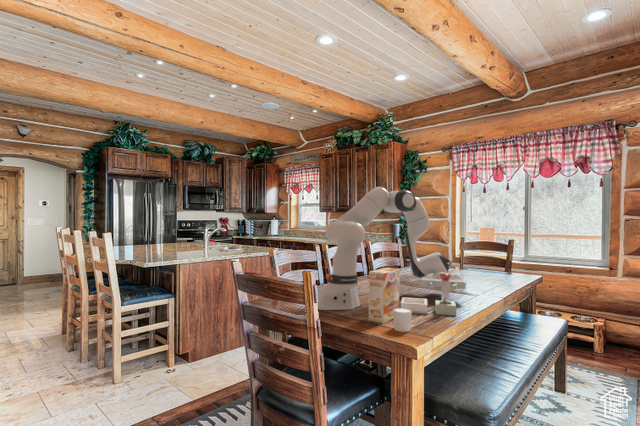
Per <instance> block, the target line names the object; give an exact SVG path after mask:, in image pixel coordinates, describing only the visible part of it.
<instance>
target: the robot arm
mask: <svg viewBox="0 0 640 426" xmlns="http://www.w3.org/2000/svg"><path fill="white" fill-rule="evenodd" d="M381 212H384V213H388V214H389V213H395V214H398V213H399V214H400V213H402V214H403V215H404V218H405V221H406V225H407V230H406V231H405V232H404V237H405V242H406V247H407V253H408V256H409V257H408V258H409V265H410V271H411V273H412V276H414V277H416V278H419V279H420V286H421V287H422V288H432V289H433V288H434V289H436V290H439V291H441V292H442V278H440V274H441V273H447V274H449V271H450V266H449V264H448V261H447V259H446V257H445V256H444V254H442V253H441V252H438V251H436V252H432V253H430V254H427V255H425V256H424V255H423V256H421V257H418V256H417V251H416V246H415V244H416V241H418V239H420V238H421V237H422V236H423V235H424V234H425V233H426V232H427V231H428V230H429V228H430V225H431V220H430V218H429V214H428V212H427V210H426V208H425V206H424V204H423V203H422V201H421V199H420V198H419V197H417V196H415V195H414V194H413V193H412V192H411V190H406V189H400V190H392V191H388V190H387V189H386V188H385V187H382V186H376V187H374V188H372V189H371V190H370V191H368V192H367V193H366V194H365V195H364V196H362V198H361V199H359V201H358V202H357V203H356V204H355V205H354V206H352V207H351V208H350V209H349V210H347V211H346V212H345V213H343V214H342V215H340V216H339V217H338V218H337V219H336V220H334V221H332V222H330V223H329V224H327V226H326V228H325V236H326V238H327V239H328V240H329V241H330V242H333V243H335V244H337V248H336V251H335V254H334V255H333V257H332V273H331V275H330V274H326V275H325V278H326V279H327V280H328V282H326V284H325V285H323V287H321V288H320V289H318V290H317V292H318V308H319V311H337V310H338V311H339V310H340V311H342V310H343V311H344V310H345V311H347V310H350V311H352V310H354V309H355V308H358V307H360V305H361V304H360V299H359V294H358V284H359V283H358V281H359V279H358V274H357V263H358V262H357V261H358V253H359V249H360V246H361V244H362V243H363V242H364V240H365V238H366V229H365V227H367V226H368V225H370V224H371V222H373V221H374V220H375V218H377V216H378V215H379V214H380V213H381ZM450 274H451V273H450ZM429 275H432V277H426V276H429ZM466 285H467V283H466V280H465V279H464V278H462V276H460V275H457V274H451V278H449V291H450V290H466V288H467V286H466Z"/></svg>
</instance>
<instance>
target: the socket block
mask: <svg viewBox="0 0 640 426" xmlns="http://www.w3.org/2000/svg"><path fill="white" fill-rule="evenodd" d="M434 302H435V303H434V304H435V305H434V306H435V308H434V310H435V315H445V316H446V315H447V316H457V303H456V302H455V301H453V300H449V304H442V300H441V299H440V300H438V299H435V301H434Z"/></svg>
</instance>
